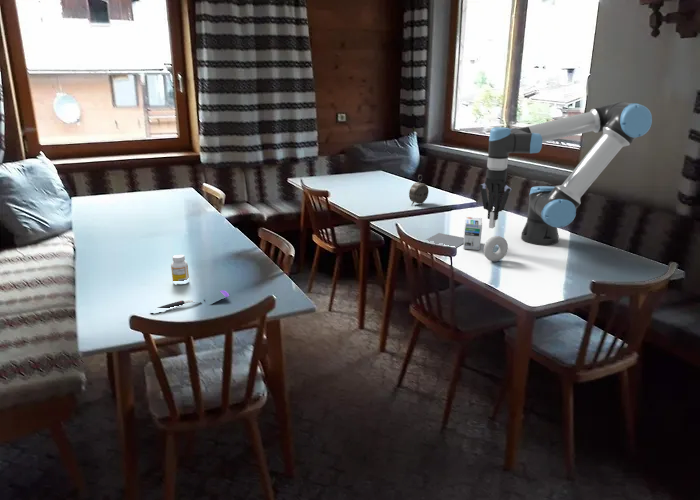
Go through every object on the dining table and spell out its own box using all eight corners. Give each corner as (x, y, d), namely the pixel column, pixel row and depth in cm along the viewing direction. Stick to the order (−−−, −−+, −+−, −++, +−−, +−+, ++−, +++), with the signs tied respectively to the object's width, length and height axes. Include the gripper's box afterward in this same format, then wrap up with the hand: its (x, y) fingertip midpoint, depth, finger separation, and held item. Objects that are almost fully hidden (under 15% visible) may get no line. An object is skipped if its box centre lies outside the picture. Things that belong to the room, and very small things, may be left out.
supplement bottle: (179, 279, 195) (176, 252, 192) (192, 281, 193) (189, 254, 190) (169, 284, 191) (166, 257, 187) (182, 286, 189) (179, 259, 186)
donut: (503, 258, 216) (505, 233, 212) (508, 261, 212) (511, 236, 209) (480, 261, 213) (482, 236, 209) (485, 264, 209) (487, 238, 206)
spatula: (152, 319, 166) (152, 311, 165) (148, 310, 171) (147, 303, 171) (230, 302, 177) (230, 295, 176) (224, 295, 183) (223, 288, 182)
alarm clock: (422, 202, 302) (423, 172, 297) (429, 204, 298) (431, 174, 293) (408, 205, 295) (409, 175, 290) (415, 207, 291) (416, 176, 286)
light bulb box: (479, 250, 224) (482, 224, 221) (462, 249, 226) (465, 223, 222) (479, 242, 234) (482, 217, 231) (463, 240, 236) (465, 216, 232)
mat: (470, 239, 238) (470, 238, 238) (453, 249, 226) (453, 248, 226) (438, 233, 247) (438, 233, 247) (421, 242, 235) (421, 241, 234)
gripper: (516, 168, 214) (511, 227, 222) (484, 165, 221) (480, 222, 229) (509, 171, 208) (504, 232, 216) (477, 168, 216) (472, 226, 223)
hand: (491, 227), depth 222 cm, fingers closed
